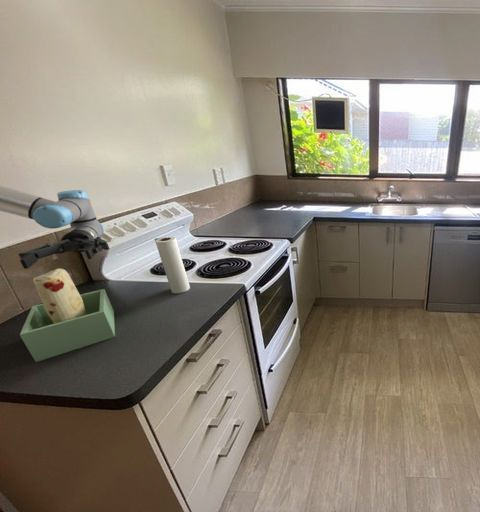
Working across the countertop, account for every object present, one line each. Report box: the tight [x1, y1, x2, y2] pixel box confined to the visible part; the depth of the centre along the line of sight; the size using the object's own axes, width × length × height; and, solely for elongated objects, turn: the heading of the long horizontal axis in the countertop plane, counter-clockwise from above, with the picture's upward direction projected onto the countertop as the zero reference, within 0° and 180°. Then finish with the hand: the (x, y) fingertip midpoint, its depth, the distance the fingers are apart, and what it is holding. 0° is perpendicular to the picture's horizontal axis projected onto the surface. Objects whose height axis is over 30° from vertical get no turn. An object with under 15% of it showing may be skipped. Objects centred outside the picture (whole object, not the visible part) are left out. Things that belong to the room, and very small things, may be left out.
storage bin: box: [19, 288, 116, 363], centre depth 86 cm, size 18×16×9 cm
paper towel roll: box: [154, 236, 191, 294], centre depth 109 cm, size 7×6×21 cm
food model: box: [32, 268, 86, 324], centre depth 83 cm, size 10×7×20 cm
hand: (57, 259), depth 85 cm, fingers open, 13 cm apart
